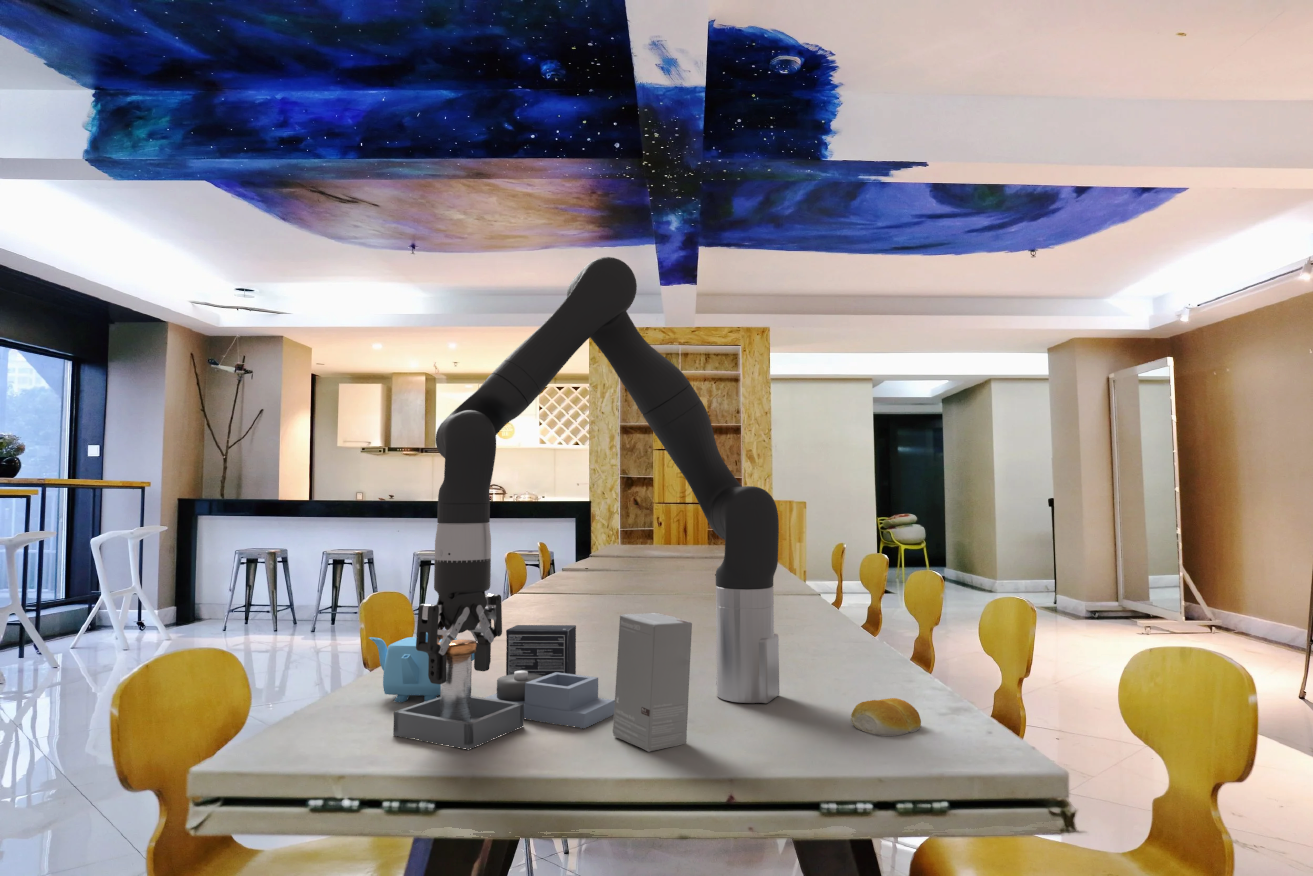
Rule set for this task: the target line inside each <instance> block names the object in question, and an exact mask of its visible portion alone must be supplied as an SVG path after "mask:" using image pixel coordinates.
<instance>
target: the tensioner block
mask: <svg viewBox="0 0 1313 876" xmlns="http://www.w3.org/2000/svg"><path fill="white" fill-rule="evenodd" d="M483 698H489V699H496V700H502V701H509V702H516V703H522V704H524V718H526V719H531V720H530V721H532V720H535V721H534V722H538V721H541V722H540V723H545V722H548V723H547V724H551V723H554V724H553V725H557V724H561V725H560V726H563V725H568V726H567V727H569V726H575V727H580V728H579V729H582V728H585V729H587V728H586V727H588V726H590V727H591V725H592V726H593V724H594V725H596V724H598V723H599V721H600V722H601V721H604V720H606V719H608V718H610V717H612V716H614V706H615V699H609V698H601V697H599V677H598V676H589V675H581V674H576V675H575V674H567V673H559V672H555V673H552V674H549V675H546V676H541V675H538V674H528V671H515V672H514V674H512V675H506V674H505V675H504V676H499V677H498V678H497V680H496V693H492V694H491V695H487V696H485V697H483ZM605 718H606V719H605ZM526 719H525V720H526ZM603 719H604V720H603ZM597 722H598V723H597ZM595 723H596V724H595ZM575 727H574V728H575ZM588 728H589V727H588Z"/></svg>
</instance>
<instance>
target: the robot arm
mask: <svg viewBox="0 0 1313 876" xmlns="http://www.w3.org/2000/svg"><path fill="white" fill-rule="evenodd" d="M637 284H638V283H637V279H636V276H635V273H634V271H633V270H632V268H631V267H630V266H629V265H628V264H627V263H625V261H623V260H622V259H619V258H616V257H611V256H604V257H599V258H596V259H594V260H592V261H590V262H589V263H587V264H586V265H585V266H584V267H583V268H582V269H581V270H580V271H579V272H578V273H577V274H576V276H575V277H574V278H573V279H572V280H571V282H570V283H569V286H568V288H567V293H566V299H564V301H563V302H562V303H561V305H560V306H559V307H558V308H557V309H556V310H555V311H554V312H553V313H552V314H551V316H549V318H547V319H546V321H544V323H542V324H541V325H540V326H539V327H538V328H537V329H536V330H535V331H534V332H533V333H531V335H530V336H528V337H527V338H526V339H525V340H524V341H523V342H522V343H521V344H520V345H518V347H516V348H515V349H514V350H513V351H512V352H511V353H510V354H509V355H508V356H507V357H506V358H505V359H504V360H503V361H502V362H501V363H500V364H499V365H498V367H496V368H495V369H494V370H493V371H492V373H491V374H490V375H489V376H488V377H487V378H485V380H484V381H483V383H482V384H481V385H480V386H479V388H478V389H477V390H476V391H475V392H474V393H472V394H471V395H470V396H469V397H468V398H467V399H465V400H464V401H463V402H462V403H461V404H460V405H458V406H457V407H456V408H455V409H454V410H453V411H452V412H451V413H450V414H449V415H448V416H447V417H445V419H444V420H443V421H442V422H441V423H440V425H439V426H438V428H437V431H436V434H435V447H436V449H437V451H438V453H439V454H440V455H441V456H442V458H444V471H443V472H444V473H443V474H444V475H443V476H444V477H443V481H442V483H441V484H440V487H439V489H438V495H437V516H436V517H437V521H436V522H437V525H436V532H435V540H434V567H433V569H434V570H433V571H434V573H433V589H434V591H435V592H436V593H437V595H438V598H437V599H438V600H437V601H436V604H428V603H427V604H426V603H421V604H419V606H418V612H417V626H416V633H417V636H416V637H417V638H416V649H417V650H418V651H423V652H426V653H428V656H429V665H428V671H429V672H428V677H429V679H430V682H431V683H434V684H443V683H445V682H446V664H447V655H445V653H446V651H447V649H448V647H449V645H450V643H451V641H452V640H454V639H455V638H457V636H458V634H463V633H464V632H466V631H468V632H470V633H471V634H472V636H473V638H474V641H476V642H477V646H476V652H475V653H474V660H473V663H474V664H473V668H474V669H473V670H475V671H477V672H487V671H489V669H490V665H491V662H492V660H491V659H492V658H491V652H492V651H491V650H492V643H494V639H496V638H497V637H501V636H502V634H503V617H502V616H503V615H502V613H503V611H502V595H501V594H498V593H486V592H487V591H489V590H490V588H491V577H492V575H491V574H492V573H491V571H492V569H491V566H492V535H491V527H490V521H491V519H490V515H491V508H490V507H491V500H490V499H491V497H490V495H491V494H490V489H491V483H492V480H493V479H492V478H493V472H494V468H495V460H496V452H497V435H498V433H500V431H501V430H503V428H504V427H505V426H506V425H507V424H509V423H510V422H511V421H513V420H514V419H516V418H517V417H519V416H520V415H522V413H524V411H526V409H528V407H530V405H531V404H532V403H533V402H534V401H535V400H536V399H537V398H538V397H539V395H541V393H542V392H543V391H544V390H545V389H546V388H547V386H548V385H549V384H550V383H551V382H552V380H553V379H554V378H555V377H556V376H557V375H558V373H560V371H561V370H562V368H564V366H565V365H566V364H567V363H568V361H569V360H570V359H572V356H574V354H575V353H576V352H577V351H578V350H579V349H580V348H581V347H582V346H583V345H584V343H586V341H588V340H589V339H591V340H592V342H594V344H595V345H596V347H597V348H598V349H599V350H600V352H601V353H602V354H603V356H604V357H605V358H606V360H607V361H608V362H609V364H610V366H611V367H612V370H614V372H615V373H616V376H617V377H618V379H619V380H620V381H621V384H622V385H623V386H624V388H625V389H626V391H627V392H628V394H629V396H630V397H631V398H632V400H633V402H634V403H635V406H636V407H637V408H638V410H639V412H640V413H641V415H642V416H643V419H645V421H646V423H647V425H648V426H649V428H650V429H651V431H652V432H653V433H654V435H655V436H656V438H657V439H658V440H659V442H660V444H661V445H662V447H664V449H665V451H666V452H667V454H668V455H669V457H670V458H671V460H672V461H673V463H674V464H675V466H676V468H678V470H679V471H680V473H681V474H682V476H683V477H684V478H685V480H686V482H687V484H688V486H689V487H690V489H691V491H692V493H693V495H694V497H695V498H696V500H697V502H698V504H699V507H700V509H701V511H702V512H703V513H702V514H703V515H704V517H705V519H706V520H707V522H708V524H709V526H710V528H711V530H712V531H713V532H714V533H715V534H716V535H717V536H718V537H719V538H721V539H722V540H724V557H723V560H722V562H721V564H720V566H718V568H717V569H716V571H715V633H716V634H715V635H716V636H715V637H716V641H715V642H716V655H715V656H716V697H718V698H719V699H721V700H724V701H728V702H732V703H744V704H755V703H756V704H757V703H758V704H759V703H761V704H768V703H770V702H771V701H772V700H774V699H775V698H777V697H778V696H780V658H779V657H780V653H779V651H780V650H779V649H780V648H779V647H780V645H779V644H780V643H779V640H780V639H779V634H778V633H775V615H774V614H775V612H774V611H775V609H774V608H775V606H774V604H775V603H774V602H775V601H774V598H775V597H774V577H775V573H776V571H777V568H778V564H779V563H778V562H779V536H780V535H779V533H780V532H779V530H780V526H779V525H780V523H779V522H780V520H779V512H778V507H777V504H776V502H775V499H774V498H773V496H772V495H771V494H770V493H769V492H768V491H766V490H765V489H763V488H761V487H759V486H755V485H753V486H751V485H749V486H748V485H747V486H745V485H743V486H742V484H741V483H740V482H739V480H738V479H736V477H735V475H734V474H733V472H732V471H731V470H730V468H729V467H728V465H727V464H726V463H725V461H724V460H723V458H722V455H721V454H720V451H719V449H718V445H717V442H716V438H715V432H714V430H713V425H712V422H711V419H710V415H709V413H708V411H707V408H706V406H705V404H704V402H703V401H702V399H701V398H700V397H699V395H698V393H697V392H696V390H695V388H694V387H693V386H692V384H691V382H690V380H689V378H687V376H685V373H683V372H682V371H681V369H679V368H678V367H677V366H676V365H675V364H674V363H673V362H672V361H670V360H669V359H668V358H666V357H665V356H664V355H663V354H661V353H660V352H659V351H658V350H656V349H655V348H654V347H653V346H651V345H650V344H649V343H648V342H647V341H646V339H645V338H644V337H643V336H642V334H641V333H640V332H639V330H638V329H637V327H636V325H635V323H634V322H633V321H632V319H631V317H630V315H629V313H628V310H629V309H630V307H631V306H632V304H633V303H634V301H635V298H636V295H637V291H638V290H637V287H638V285H637ZM492 620H493V626H492ZM426 632H427V633H428V642H426ZM441 639H442V641H441V643H440V645H439V644H438V643H439V641H440V640H441Z"/></svg>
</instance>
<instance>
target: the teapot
mask: <svg viewBox="0 0 1313 876" xmlns="http://www.w3.org/2000/svg"><path fill="white" fill-rule="evenodd" d="M415 634H416V636H413V637H410V636H409V637H408V636H407V637H405V638H403V639H399V640H397V641H395V642H392V643H390V644H389V645H388V646H387V644H386V642H385V641H384V640H383V639H382V638H381V637H380V638H379V637H372V636H371V637H370V636H369V637H368V639H370V640H371V641H372V642H374V644H375V645H376V646H377V650H378V657H379V658H378V659H379V665H380V667H381V669H382V670H383V678H382V688H383V692H384V695H389V696H390V695H392V696H395V698H394V700H393V702H395V703H405V702H408V700H409V697H410V696H424V697H423V699H424V701H423V702H426V701H429V700H432V699H435V698H438V696H440V690H441V684H434V683H431V682H430V679H429V677H428V672H429V671H428V665H429V656H428V653H426V652H423V651H418V650H417V649H416V638H417V632H416V633H415ZM454 640H458V638H457V637H456V638H455V639H454ZM441 641H442V639H441V640H440V641H439V642H441ZM426 642H428V633H427V632H426ZM472 662H474V653H473V654H472Z"/></svg>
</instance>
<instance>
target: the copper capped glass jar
mask: <svg viewBox="0 0 1313 876" xmlns="http://www.w3.org/2000/svg"><path fill="white" fill-rule="evenodd" d="M440 643H441V642H439V643H438V644H439V645H440ZM477 643H478V642H477V641H476V640H473V639H457V640H452V641H451V643H450V645H449V647H448V649H447V651H446V653H445V655H447V664H446V682H445V683H443V684H441V690H440V695H439V697H440V717H441V718H447V719H452V720H458V721H464V722H471V696H472V668H473V667H472V665H473V663H472V662H473V661H472V654H473V653H475V652H476V646H477Z"/></svg>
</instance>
